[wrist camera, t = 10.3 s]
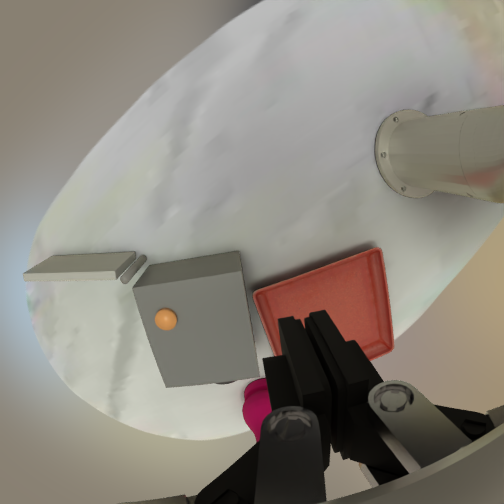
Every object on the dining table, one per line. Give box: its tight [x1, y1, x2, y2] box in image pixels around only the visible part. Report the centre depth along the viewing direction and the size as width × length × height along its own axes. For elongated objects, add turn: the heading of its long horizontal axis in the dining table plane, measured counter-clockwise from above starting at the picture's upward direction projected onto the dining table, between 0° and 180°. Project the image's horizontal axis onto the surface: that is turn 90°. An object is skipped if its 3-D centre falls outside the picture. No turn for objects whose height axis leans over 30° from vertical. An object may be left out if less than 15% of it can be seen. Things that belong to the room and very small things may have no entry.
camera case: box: [132, 251, 260, 388], centre depth 37 cm, size 12×15×9 cm
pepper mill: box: [242, 379, 272, 442], centre depth 36 cm, size 7×7×20 cm
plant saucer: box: [252, 247, 394, 361], centre depth 42 cm, size 18×18×3 cm
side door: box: [23, 252, 146, 284], centre depth 34 cm, size 2×15×8 cm, turn 92°
